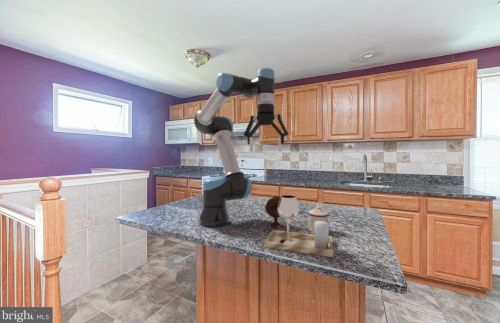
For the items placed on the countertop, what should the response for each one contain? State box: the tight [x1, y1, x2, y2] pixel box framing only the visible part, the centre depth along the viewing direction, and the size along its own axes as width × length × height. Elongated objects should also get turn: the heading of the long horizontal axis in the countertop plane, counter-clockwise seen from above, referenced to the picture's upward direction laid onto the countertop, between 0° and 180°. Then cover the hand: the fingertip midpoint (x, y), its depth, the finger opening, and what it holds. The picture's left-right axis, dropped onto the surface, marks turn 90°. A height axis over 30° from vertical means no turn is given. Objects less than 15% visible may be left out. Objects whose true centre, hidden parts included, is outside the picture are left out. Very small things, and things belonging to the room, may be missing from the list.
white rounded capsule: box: [313, 221, 330, 250], centre depth 82 cm, size 5×5×9 cm
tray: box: [263, 229, 334, 258], centre depth 85 cm, size 24×14×3 cm, turn 71°
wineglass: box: [278, 194, 300, 245], centre depth 86 cm, size 8×8×18 cm
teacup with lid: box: [307, 205, 330, 233], centre depth 103 cm, size 12×9×12 cm
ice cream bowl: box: [264, 195, 282, 228], centre depth 111 cm, size 11×11×15 cm
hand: (265, 151), depth 101 cm, fingers open, 13 cm apart
